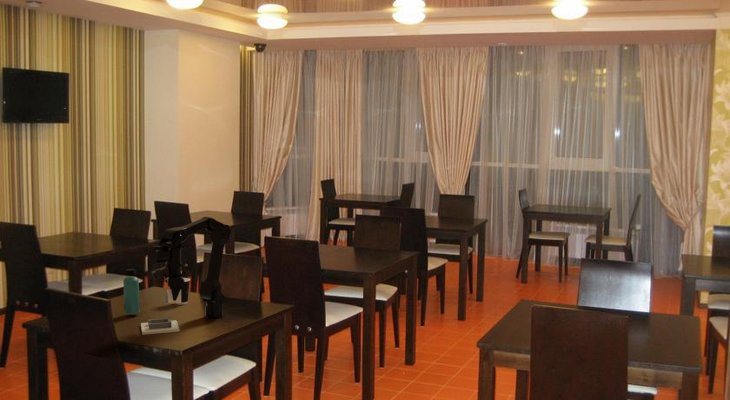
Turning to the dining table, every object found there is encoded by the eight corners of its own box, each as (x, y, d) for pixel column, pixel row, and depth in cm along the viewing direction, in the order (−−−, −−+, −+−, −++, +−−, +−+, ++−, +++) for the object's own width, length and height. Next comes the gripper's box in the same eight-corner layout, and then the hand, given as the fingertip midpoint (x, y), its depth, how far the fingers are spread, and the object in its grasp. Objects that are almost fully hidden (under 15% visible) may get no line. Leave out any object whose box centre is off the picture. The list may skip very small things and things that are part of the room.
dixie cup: (170, 302, 343) (170, 278, 342) (188, 300, 347) (187, 277, 346) (175, 306, 336) (174, 282, 335) (192, 304, 340) (192, 280, 339)
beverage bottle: (143, 315, 320) (141, 269, 318) (128, 318, 315) (127, 271, 313) (135, 312, 324) (133, 267, 322) (121, 315, 319) (119, 269, 317)
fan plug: (180, 300, 302) (180, 288, 302) (181, 302, 298) (181, 290, 298) (164, 301, 300) (164, 289, 300) (165, 303, 296) (165, 290, 296)
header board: (176, 322, 308) (176, 315, 308) (179, 331, 295) (179, 324, 294) (140, 325, 303) (140, 318, 303) (142, 334, 290) (142, 327, 290)
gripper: (150, 257, 304) (151, 295, 305) (154, 265, 287) (154, 305, 288) (179, 256, 308) (179, 294, 309) (184, 264, 290) (184, 303, 292)
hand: (174, 299), depth 299 cm, fingers closed on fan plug, 4 cm apart
